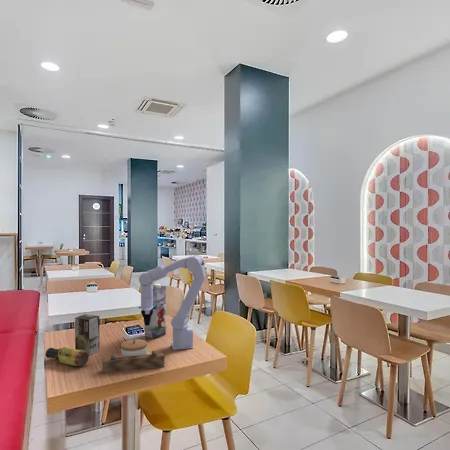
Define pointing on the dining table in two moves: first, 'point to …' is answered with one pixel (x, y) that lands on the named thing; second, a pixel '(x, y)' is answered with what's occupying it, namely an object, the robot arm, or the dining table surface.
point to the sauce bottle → (68, 356)
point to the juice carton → (157, 313)
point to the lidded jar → (134, 348)
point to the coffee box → (87, 333)
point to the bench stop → (132, 362)
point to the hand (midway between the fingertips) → (147, 325)
